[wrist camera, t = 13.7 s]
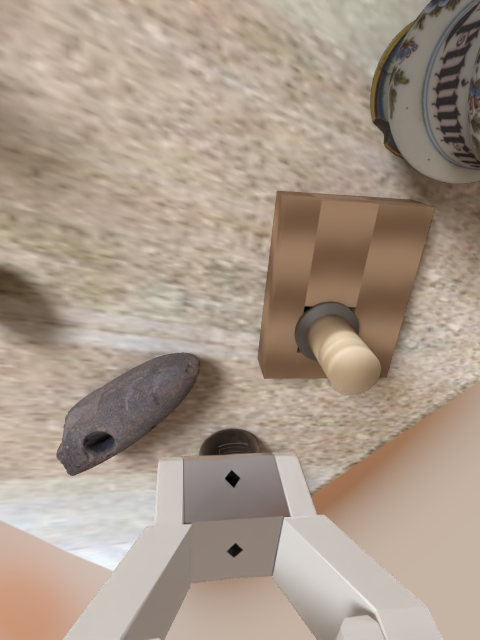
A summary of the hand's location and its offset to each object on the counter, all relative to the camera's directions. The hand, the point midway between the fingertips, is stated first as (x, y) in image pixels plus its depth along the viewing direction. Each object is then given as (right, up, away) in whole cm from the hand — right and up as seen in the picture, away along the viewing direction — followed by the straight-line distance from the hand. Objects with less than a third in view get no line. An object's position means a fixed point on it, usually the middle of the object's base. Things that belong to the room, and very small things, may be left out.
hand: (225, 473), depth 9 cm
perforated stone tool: (-10, -3, +30) cm, 32 cm away
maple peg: (+7, +4, +29) cm, 30 cm away
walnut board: (+9, +7, +28) cm, 30 cm away
